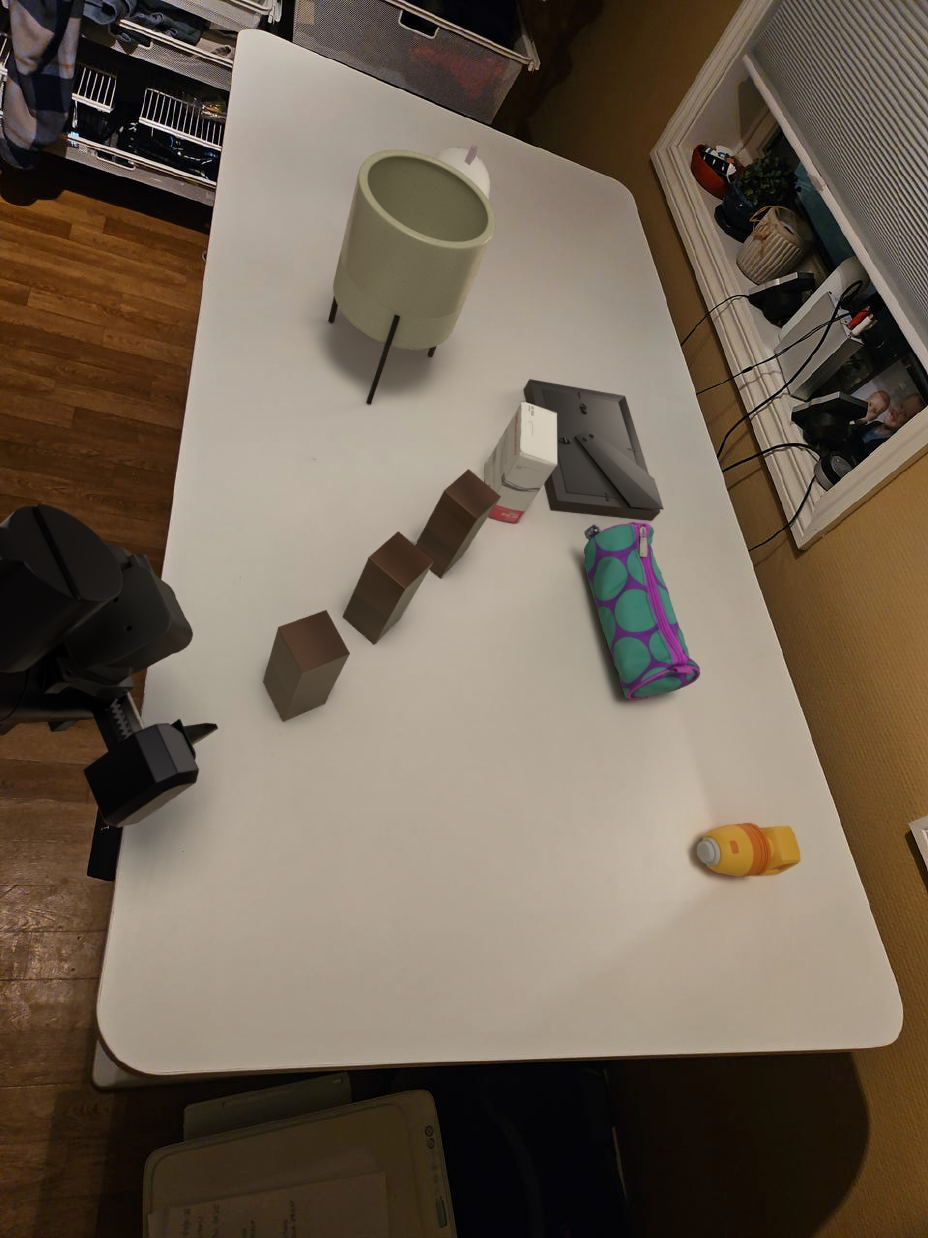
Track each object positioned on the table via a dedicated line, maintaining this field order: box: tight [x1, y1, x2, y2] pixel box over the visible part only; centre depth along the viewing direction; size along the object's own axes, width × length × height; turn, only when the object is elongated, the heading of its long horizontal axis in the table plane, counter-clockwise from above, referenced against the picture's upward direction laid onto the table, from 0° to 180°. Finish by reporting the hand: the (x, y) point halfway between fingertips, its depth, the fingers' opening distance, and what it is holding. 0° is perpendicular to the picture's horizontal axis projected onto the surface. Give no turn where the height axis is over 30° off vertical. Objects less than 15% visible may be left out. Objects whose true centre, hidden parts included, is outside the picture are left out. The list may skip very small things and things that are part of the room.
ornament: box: [432, 144, 491, 199], centre depth 110 cm, size 10×10×12 cm
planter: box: [327, 149, 497, 405], centre depth 85 cm, size 15×16×23 cm
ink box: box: [483, 401, 557, 524], centre depth 87 cm, size 9×5×12 cm, turn 176°
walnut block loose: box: [262, 609, 351, 722], centre depth 65 cm, size 4×4×12 cm
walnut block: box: [342, 530, 434, 645], centre depth 72 cm, size 4×4×12 cm
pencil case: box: [583, 521, 701, 700], centre depth 84 cm, size 21×9×10 cm, turn 11°
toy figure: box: [696, 822, 801, 877], centre depth 77 cm, size 5×6×12 cm
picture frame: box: [523, 378, 665, 522], centre depth 99 cm, size 16×3×21 cm
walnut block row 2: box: [414, 469, 501, 579], centre depth 79 cm, size 4×4×12 cm
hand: (187, 675), depth 54 cm, fingers open, 9 cm apart
